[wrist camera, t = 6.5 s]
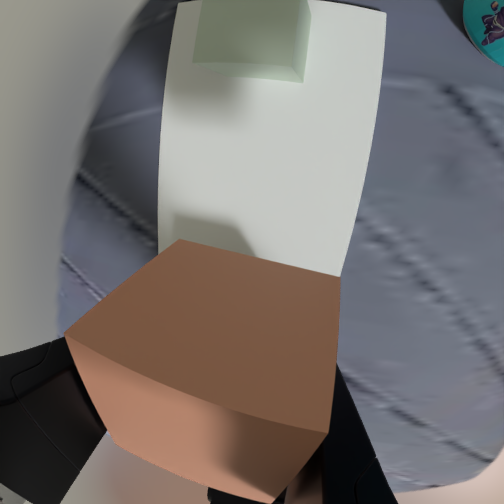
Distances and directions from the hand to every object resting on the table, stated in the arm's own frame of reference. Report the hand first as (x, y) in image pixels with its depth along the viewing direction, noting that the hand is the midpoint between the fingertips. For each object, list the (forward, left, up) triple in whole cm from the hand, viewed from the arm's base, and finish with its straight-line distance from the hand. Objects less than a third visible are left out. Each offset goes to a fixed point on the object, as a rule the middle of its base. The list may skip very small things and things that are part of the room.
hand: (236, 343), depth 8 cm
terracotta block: (0, 0, -1) cm, 1 cm away
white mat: (+2, +3, -12) cm, 12 cm away
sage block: (+11, +3, -11) cm, 15 cm away
